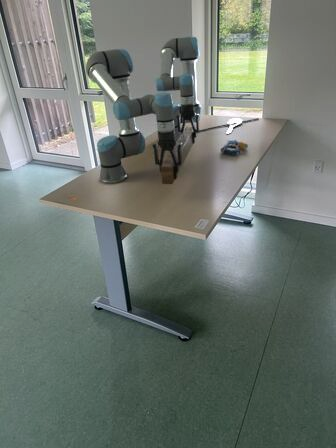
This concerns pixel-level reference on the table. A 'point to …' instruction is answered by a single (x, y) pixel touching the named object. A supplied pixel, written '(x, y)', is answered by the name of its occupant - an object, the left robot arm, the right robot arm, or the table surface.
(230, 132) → the spoon
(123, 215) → the table surface
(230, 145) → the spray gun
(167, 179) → the bar
